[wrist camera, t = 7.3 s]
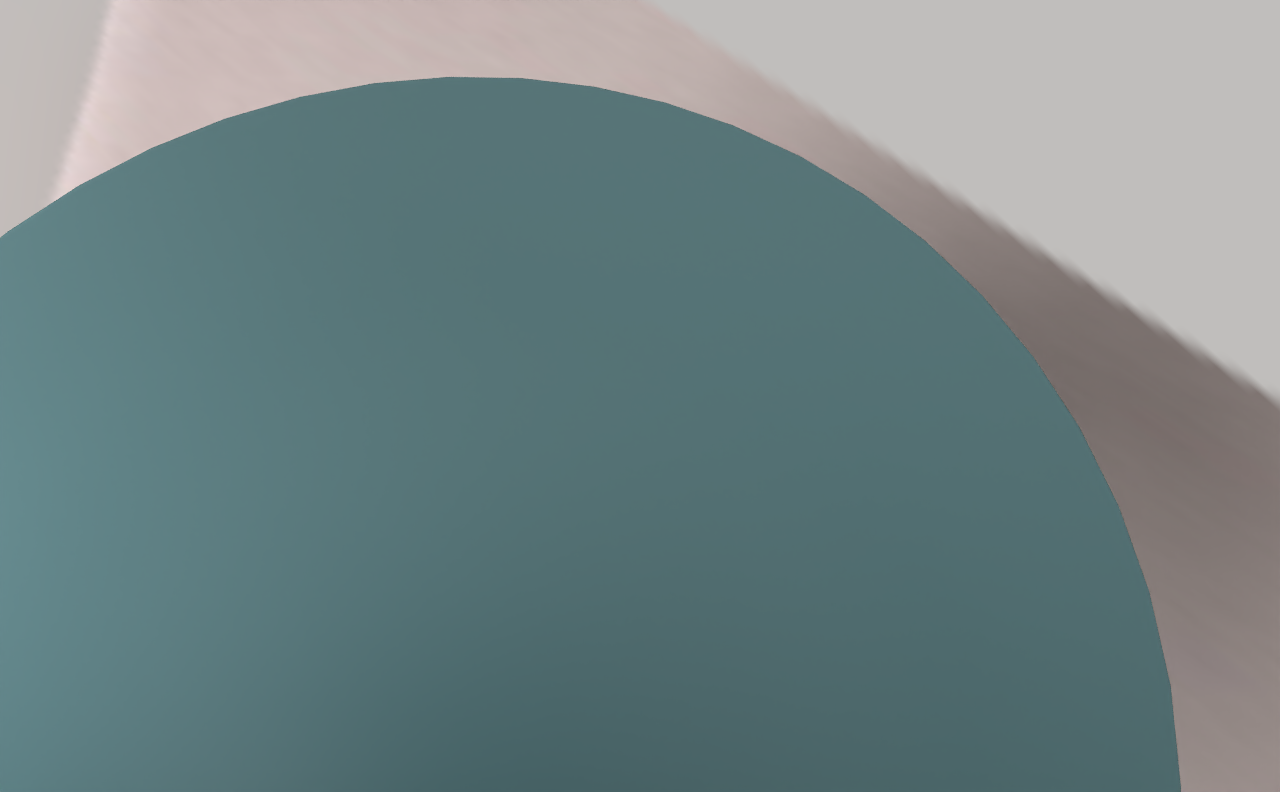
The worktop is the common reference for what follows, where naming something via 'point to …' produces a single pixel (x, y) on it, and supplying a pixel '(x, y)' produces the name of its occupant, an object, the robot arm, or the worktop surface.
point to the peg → (539, 475)
